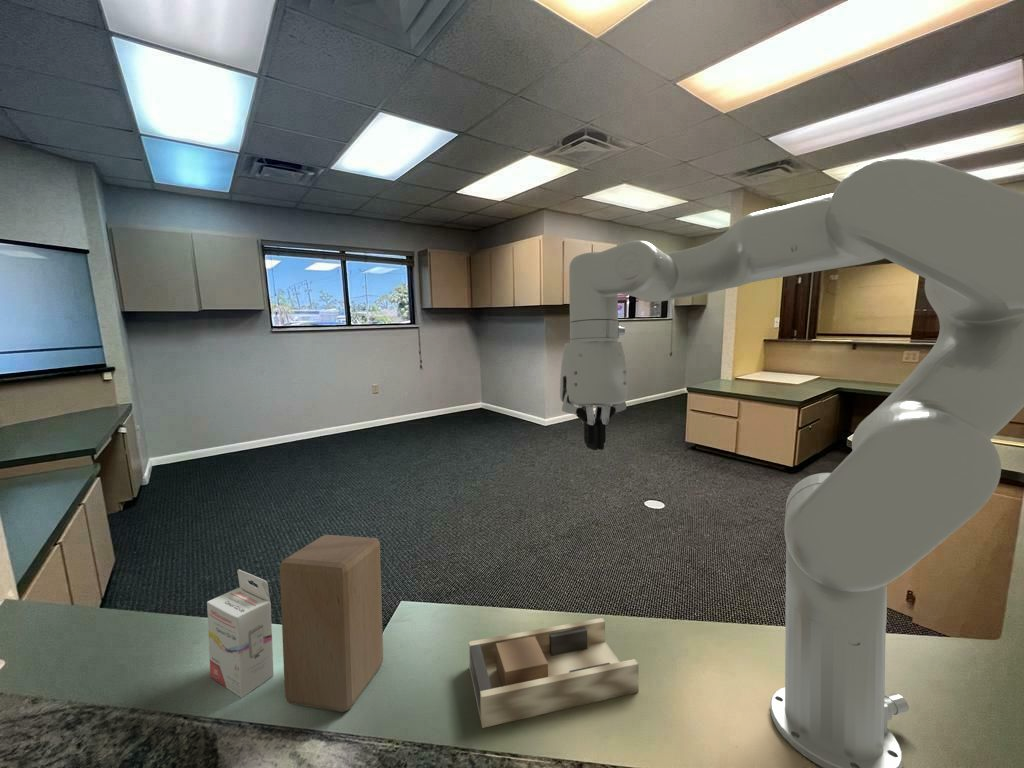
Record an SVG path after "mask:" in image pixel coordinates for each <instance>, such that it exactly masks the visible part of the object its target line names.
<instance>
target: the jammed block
mask: <svg viewBox="0 0 1024 768" xmlns="http://www.w3.org/2000/svg"><path fill="white" fill-rule="evenodd" d="M496 670H497V673H498V676H499V680H500V683H501V687H503V686H508V685H512V684H517V683H522V682H527V681H532V680H536V679H541V678H546V677H548V663H547V661H546V658H545V656H544V654H543V652H542V650H541V648H540V646H539V644H538V642H537V640H536V638H535V636H533V637H528V638H522V639H517V640H511V641H506V642H500V643H496Z"/></svg>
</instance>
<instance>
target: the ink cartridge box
mask: <svg viewBox="0 0 1024 768" xmlns="http://www.w3.org/2000/svg"><path fill="white" fill-rule="evenodd" d="M236 571H237V579H238V584H239V587H237V588H235V589H232V590H229V591H228V592H226V593H223V594H221V595H218V596H216V597H214V598H213V599H210V600H208V601H206V606H207V607H206V609H207V630H208V650H209V651H208V652H209V670H210V671H209V672H210V678H211V679H212V680H215V681H216V682H218V683H219V684H220V685H222V686H224V688H226V689H228V690H229V691H230V692H232V693H234V694H235V695H237V696H238V697H239V698H244V697H245V696H247V695H248V694H250V693H251V692H252V691H254V690H256V689H257V688H258V687H260V686H261V685H263V684H264V683H266V682H267V681H268V680H270V679H271V678H272V677H274V674H275V673H274V652H273V628H272V627H273V626H272V609H271V608H272V604H271V598H270V593H269V592H270V591H269V584H268V581H267V580H265V579H263V578H261V577H259V576H256V575H254V574H251V573H248V572H247V571H243V570H242V569H237V570H236ZM251 581H252V582H253V583H254V584H256V585H257V587H256V586H255V585H253V584H251V583H249V582H251Z"/></svg>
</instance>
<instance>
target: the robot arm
mask: <svg viewBox="0 0 1024 768" xmlns="http://www.w3.org/2000/svg"><path fill="white" fill-rule="evenodd" d="M883 259H884V260H885V259H886V260H888V261H890V262H892V263H893V264H896V265H897V266H900V267H901V268H903V269H906V270H908V271H909V272H911V273H913V274H915V275H918V276H919V277H922V278H923V279H924V280H925V281H924V293H925V296H926V299H927V301H928V303H929V304H930V306H931V307H932V309H933V311H934V312H935V314H936V315H937V318H938V322H939V333H938V336H937V339H936V340H935V343H934V345H933V346H932V348H931V349H930V351H929V352H928V353H927V355H926V356H925V357H924V358H923V359H922V360H921V361H920V362H919V363H918V365H917V366H916V367H915V368H914V369H913V371H912V372H911V373H910V374H909V375H908V376H907V377H906V378H905V379H904V380H903V381H902V382H901V383H900V384H899V385H898V386H897V387H896V388H895V390H893V391H892V392H891V393H890V395H889V396H888V397H887V398H886V399H885V400H884V401H882V403H880V404H879V405H878V407H876V408H875V409H874V410H873V411H872V412H871V413H870V414H869V415H867V416H866V417H865V418H864V419H863V420H862V421H861V422H859V424H858V426H857V427H856V429H855V430H854V432H853V435H852V439H851V449H852V451H851V452H850V453H849V454H848V455H847V456H846V457H845V458H844V459H843V461H841V462H840V464H838V466H837V467H836V468H835V469H833V470H832V472H820V473H815V474H811V475H808V476H806V477H804V478H802V479H801V480H800V481H798V482H797V483H795V485H794V486H793V487H792V489H791V490H790V492H789V493H788V495H787V499H786V502H785V510H784V512H785V514H784V530H783V531H784V539H785V543H786V548H785V550H786V551H785V552H786V553H785V555H786V560H785V562H786V564H785V571H786V572H785V630H784V631H785V632H784V633H785V635H784V636H785V637H784V638H785V641H784V643H785V644H784V645H785V649H784V650H785V653H784V655H785V657H784V686H783V687H781V688H779V689H777V690H776V691H775V692H774V693H773V695H772V696H771V698H770V699H771V700H770V715H771V719H772V721H773V723H774V726H775V727H776V729H777V731H779V733H780V734H781V736H782V737H783V738H784V739H785V741H787V742H788V743H789V745H790V746H792V747H793V748H794V749H795V750H796V751H797V752H799V754H801V755H802V756H804V757H805V758H807V759H808V760H810V761H811V762H812V763H814V764H816V765H818V766H820V767H821V768H903V751H902V749H901V746H900V744H899V741H897V739H896V737H895V736H894V735H893V733H892V732H891V731H890V729H889V727H888V722H889V721H891V720H892V718H893V716H898V715H901V714H905V713H907V712H909V708H910V707H909V704H908V702H907V700H906V699H905V697H904V696H902V695H900V694H899V693H897V692H894V693H893V692H892V693H889V694H886V695H885V692H886V690H885V689H886V688H885V687H886V640H887V639H886V638H887V637H886V635H887V634H886V631H887V628H886V627H887V617H888V616H887V611H888V610H887V609H888V607H887V606H888V605H887V601H888V599H887V598H888V596H887V595H888V594H887V593H888V592H887V591H888V589H887V588H888V587H887V585H889V584H890V583H892V582H893V581H895V580H897V579H898V578H900V577H901V576H902V575H903V574H905V573H906V572H908V571H909V570H910V569H911V568H913V567H914V566H915V565H916V564H917V563H919V562H920V561H921V560H922V559H923V558H925V557H926V556H927V555H928V554H930V553H931V552H932V551H933V550H935V549H936V548H937V547H938V546H939V545H941V544H942V543H943V542H944V541H946V540H947V539H948V538H949V537H950V536H952V535H953V534H954V533H955V532H957V531H958V530H959V529H960V528H961V527H962V526H963V525H965V524H966V523H967V522H968V521H970V520H971V519H972V518H973V517H974V516H975V515H976V514H977V513H978V512H979V511H981V510H982V508H984V507H985V505H986V504H987V503H988V502H989V500H991V497H992V496H993V494H994V493H995V491H996V489H997V487H998V485H999V484H1000V479H1001V477H1002V475H1001V473H1002V463H1001V457H1000V455H999V452H998V449H997V447H996V446H995V444H994V443H993V441H992V439H994V437H995V436H996V435H997V434H998V433H999V432H1000V431H1001V430H1002V429H1003V428H1004V427H1005V426H1006V425H1008V424H1009V423H1010V422H1011V420H1013V418H1015V416H1016V415H1017V414H1018V413H1019V412H1020V411H1021V410H1022V409H1023V408H1024V193H1022V192H1018V191H1016V190H1014V189H1012V188H1011V189H1010V188H1008V187H1005V186H1003V185H1000V184H997V183H995V182H993V181H989V180H987V179H985V178H983V177H978V176H976V175H973V174H970V173H968V172H965V171H962V170H960V169H958V168H954V167H952V166H948V165H946V164H942V163H941V162H940V163H939V162H937V161H933V160H929V159H926V158H920V157H917V156H910V155H909V156H908V155H894V156H887V157H886V156H885V157H881V158H877V159H874V160H871V161H869V162H867V163H865V164H863V165H860V166H857V168H856V169H853V170H852V171H850V173H848V174H847V175H846V176H845V177H844V178H843V179H842V180H841V181H840V183H838V185H837V186H836V188H835V189H834V191H833V193H829V194H825V195H821V196H817V197H813V198H808V199H804V200H801V201H797V202H792V203H788V204H786V205H782V206H776V207H771V208H768V209H764V210H759V211H756V212H751V213H748V214H746V215H744V216H742V217H741V218H739V219H738V220H737V221H736V222H735V223H734V224H732V226H730V228H728V229H727V230H726V231H725V232H724V233H723V234H721V235H720V236H718V237H716V238H715V239H714V240H713V239H712V240H710V241H709V242H706V243H704V244H701V245H698V246H695V247H690V248H686V249H682V250H677V251H671V252H667V253H664V252H663V251H661V249H659V248H658V247H656V246H655V245H653V244H652V243H650V242H648V241H646V240H642V239H641V240H638V239H637V240H630V241H627V242H624V243H621V244H618V245H617V246H614V247H610V248H608V249H605V250H603V251H593V252H586V253H585V252H584V253H581V254H578V255H576V256H574V257H573V258H572V259H571V261H570V264H569V270H568V271H569V273H568V275H569V280H568V281H569V283H568V284H569V289H568V290H569V338H570V339H569V342H565V343H564V347H563V352H562V360H561V365H560V366H561V367H560V368H561V369H560V377H559V378H560V381H559V397H560V401H561V402H562V407H561V411H562V412H563V413H566V414H571V415H575V416H576V417H577V418H578V419H579V420H580V422H582V424H583V432H584V433H583V439H584V444H585V446H586V448H588V449H590V450H593V451H598V450H601V451H602V450H604V449H605V443H606V442H607V441H606V439H607V438H606V436H607V435H606V425H608V423H609V421H610V419H611V418H612V416H614V415H615V414H616V413H619V412H622V411H625V410H627V403H626V400H627V399H628V373H627V372H628V371H627V363H626V356H625V351H624V346H623V343H622V342H621V341H619V339H620V336H624V335H625V334H626V329H625V326H620V322H619V302H618V301H619V296H618V295H625V296H628V297H629V296H631V297H635V298H637V299H640V300H641V301H644V302H650V303H651V302H652V303H653V302H655V303H656V302H657V303H658V302H665V301H672V300H677V299H678V300H679V299H685V298H692V297H696V296H702V295H706V294H712V293H715V292H719V291H723V290H728V289H733V288H738V287H741V286H745V285H747V284H751V283H755V282H761V281H767V280H773V279H779V278H783V277H791V276H797V275H803V274H809V273H815V272H821V271H822V272H823V271H827V270H833V269H840V268H844V267H845V268H846V267H853V266H857V265H858V266H859V265H863V264H868V263H872V262H873V263H874V262H876V261H877V262H878V261H881V260H883ZM593 406H595V409H594V407H593ZM594 410H595V411H594Z"/></svg>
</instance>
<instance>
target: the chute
mask: <svg viewBox="0 0 1024 768" xmlns="http://www.w3.org/2000/svg"><path fill="white" fill-rule="evenodd" d="M533 636H535V638H536V640H537V642H538V644H539V646H540V648H541V650H542V652H543V654H544V656H545V658H546V661H547V663H548V677H546V678H541V679H536V680H532V681H527V682H522V683H517V684H512V685H508V686H503V687H501V683H500V680H499V676H498V673H497V670H496V643H500V642H506V641H511V640H517V639H522V638H528V637H533ZM468 655H469V657H468V658H469V659H468V661H469V671H470V676H471V681H472V685H473V690H474V691H473V692H474V696H475V700H476V705H477V710H478V715H479V718H480V725H481V728H482V729H484V728H488V727H493V726H496V725H497V726H498V725H501V724H506V723H510V722H515V721H519V720H523V719H524V720H525V719H528V718H532V717H536V716H540V715H544V714H548V713H553V712H558V711H562V710H566V709H570V708H574V707H579V706H583V705H587V704H588V705H589V704H591V703H596V702H601V701H605V700H609V699H613V698H614V699H615V698H618V697H622V696H627V695H631V694H635V693H639V690H640V689H639V685H640V684H639V682H640V681H639V677H640V676H639V662H638V661H637V660H636V659H635V658H632V659H629V660H623V661H620V660H619V659H618V657H617V656H616V654H615V653H614V652H613V651H612V649H611V648H610V646H609V645H608V643H607V642H606V621H605V619H604V618H603V617H599V618H594V619H588V620H587V619H586V620H583V621H576V622H572V623H566V624H560V625H554V626H548V627H543V628H537V629H531V630H527V631H522V632H521V631H520V632H516V633H509V634H504V635H498V636H493V637H487V638H481V639H476V640H471V641H468Z"/></svg>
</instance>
